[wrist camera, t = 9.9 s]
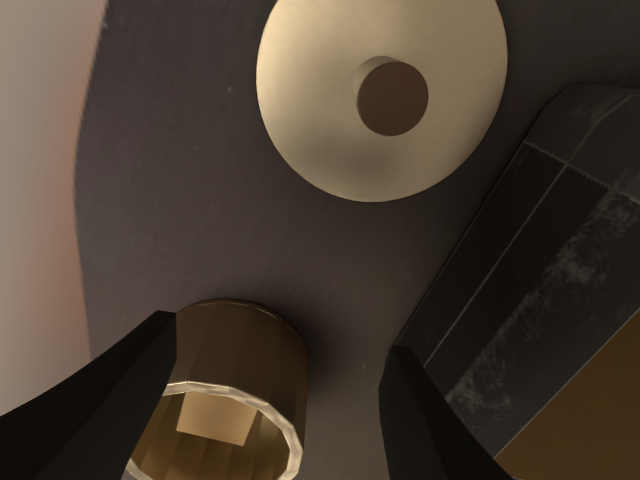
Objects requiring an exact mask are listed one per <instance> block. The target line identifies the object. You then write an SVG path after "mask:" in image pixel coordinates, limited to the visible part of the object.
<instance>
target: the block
mask: <svg viewBox="0 0 640 480" xmlns="http://www.w3.org/2000/svg"><path fill="white" fill-rule="evenodd" d="M257 410H258V409H256V408H254V407H251V406H249V405H247V404H244V403H242V402H239V401H237V400H235V399H232V398H230V397H228V396H220V395H213V394H205V393H197V392H186V393H185V397H184V401H183V405H182V409H181V413H180V417H179V421H178V425H177V428H176V430H177V431H181V432H185V433H189V434H193V435H198V436H202V437H206V438H210V439H215V440H219V441H223V442H227V443H232V444H236V445H240V446H243V445H244V443H245V441H246V438H247V436H248V433H249V431H250V428H251V426H252V423H253V420H254V418H255V415H256V413H257Z"/></svg>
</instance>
